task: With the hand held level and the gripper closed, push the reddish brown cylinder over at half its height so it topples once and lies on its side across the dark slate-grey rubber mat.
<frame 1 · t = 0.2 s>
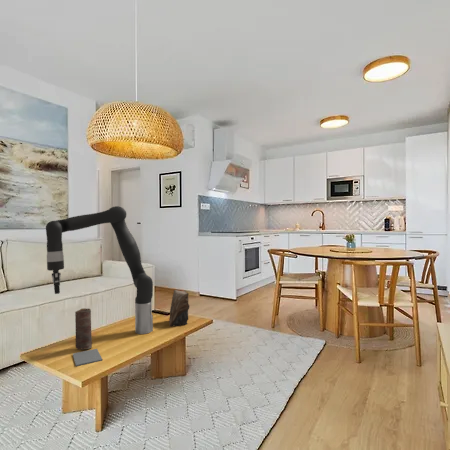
hand: (57, 292, 156), 28 cm above the table, tool pointing down, fingers open, 8 cm apart
mat: (87, 357, 145), on the table
dark brown rough block: (176, 323, 194), on the table
reddish brown cylinder: (83, 349, 155), on the table
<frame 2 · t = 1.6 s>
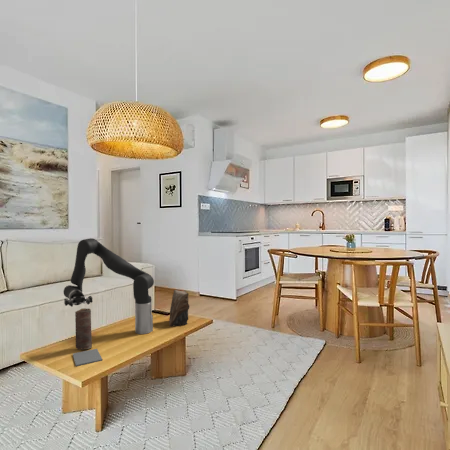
hand: (80, 303, 165), 20 cm above the table, tool horizontal, fingers open, 7 cm apart
nothing on the table moved.
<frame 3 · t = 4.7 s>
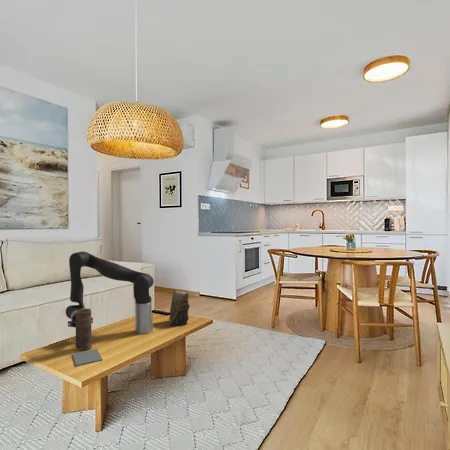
hand: (82, 326, 157), 10 cm above the table, tool horizontal, fingers closed
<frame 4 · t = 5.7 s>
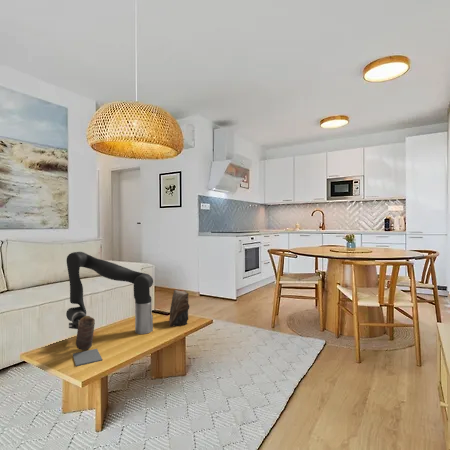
hand: (84, 327, 152), 11 cm above the table, tool horizontal, fingers closed
reddish brown cylinder: (83, 345, 155), point 2 cm above the table, touching gripper
everything else where it was.
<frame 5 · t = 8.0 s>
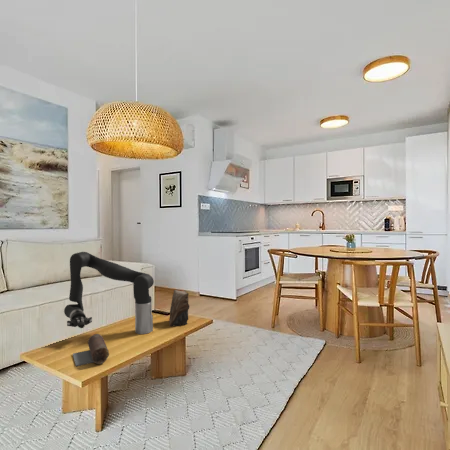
hand: (82, 326, 159), 10 cm above the table, tool horizontal, fingers closed
reddish brown cylinder: (95, 340, 155), point 4 cm above the table, touching mat
everything else where it was.
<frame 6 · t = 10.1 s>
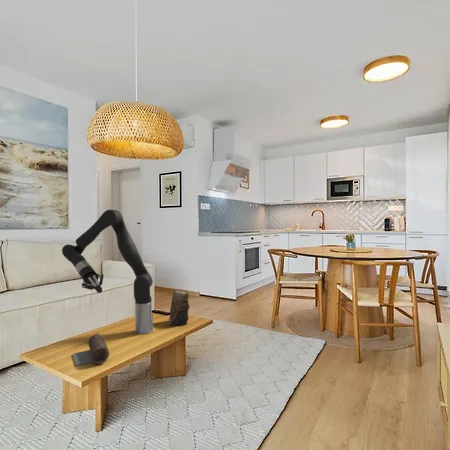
hand: (100, 291, 167), 26 cm above the table, tool tilted 50°, fingers closed
nothing on the table moved.
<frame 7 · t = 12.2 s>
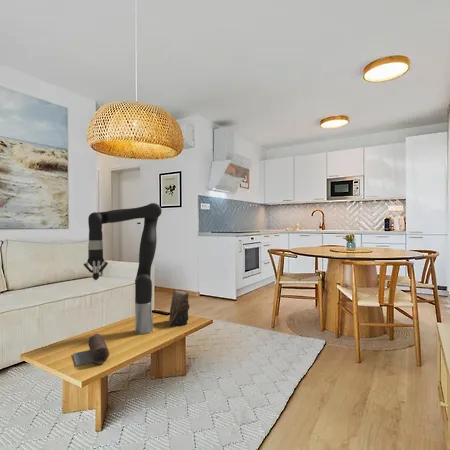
hand: (95, 279, 170), 32 cm above the table, tool pointing down, fingers closed
nothing on the table moved.
at the end: reddish brown cylinder tilted 91°; reddish brown cylinder touching mat; reddish brown cylinder inside the target area (5.7 cm from its centre), point 4.4 cm above the table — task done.
